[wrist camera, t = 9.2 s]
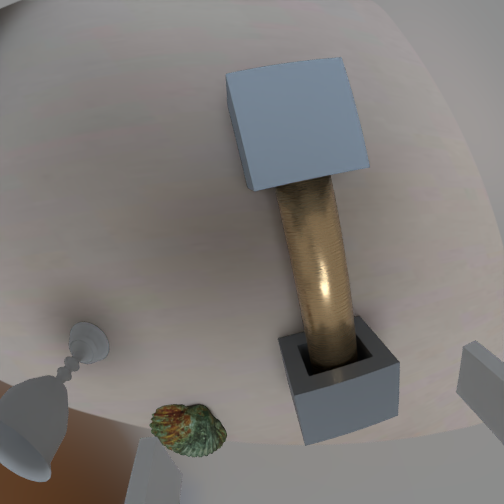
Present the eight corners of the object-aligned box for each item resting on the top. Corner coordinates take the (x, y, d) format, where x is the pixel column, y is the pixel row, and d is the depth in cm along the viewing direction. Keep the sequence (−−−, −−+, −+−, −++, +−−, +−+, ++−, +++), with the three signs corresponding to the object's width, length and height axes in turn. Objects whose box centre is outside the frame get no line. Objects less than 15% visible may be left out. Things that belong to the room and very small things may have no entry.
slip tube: (265, 162, 26) (272, 158, 21) (316, 151, 26) (332, 147, 21) (312, 384, 31) (322, 410, 26) (352, 372, 31) (366, 396, 26)
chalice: (100, 306, 30) (8, 413, 13) (128, 360, 32) (69, 484, 14) (52, 323, 31) (-39, 415, 13) (80, 372, 32) (13, 478, 15)
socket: (277, 338, 32) (294, 395, 23) (359, 315, 32) (399, 362, 23) (288, 385, 34) (305, 445, 24) (363, 363, 34) (397, 415, 24)
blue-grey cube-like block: (227, 104, 27) (225, 74, 18) (310, 89, 27) (341, 57, 18) (247, 187, 29) (254, 191, 20) (330, 169, 29) (369, 167, 20)
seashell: (134, 455, 31) (167, 410, 29) (138, 433, 35) (169, 387, 33) (206, 479, 33) (247, 440, 32) (205, 457, 37) (243, 416, 36)
